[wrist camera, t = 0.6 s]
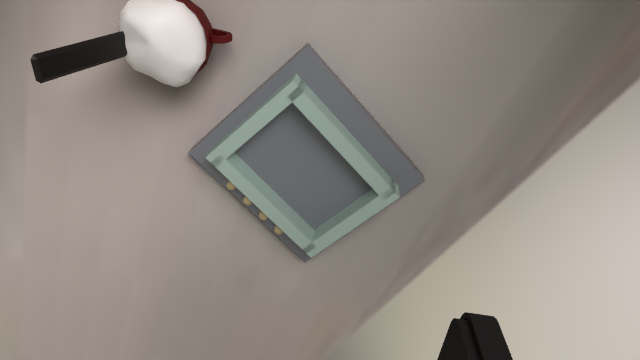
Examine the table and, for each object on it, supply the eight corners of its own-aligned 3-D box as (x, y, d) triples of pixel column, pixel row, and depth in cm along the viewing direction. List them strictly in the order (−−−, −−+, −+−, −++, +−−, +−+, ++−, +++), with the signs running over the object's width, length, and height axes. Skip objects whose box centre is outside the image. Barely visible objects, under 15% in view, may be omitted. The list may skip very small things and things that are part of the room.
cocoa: (244, 15, 38) (209, 48, 28) (220, 87, 41) (180, 142, 30) (125, -36, 37) (39, -22, 26) (108, 42, 40) (24, 83, 29)
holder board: (307, 43, 39) (303, 52, 36) (423, 174, 43) (426, 192, 40) (192, 147, 44) (180, 163, 41) (306, 254, 48) (302, 275, 45)
